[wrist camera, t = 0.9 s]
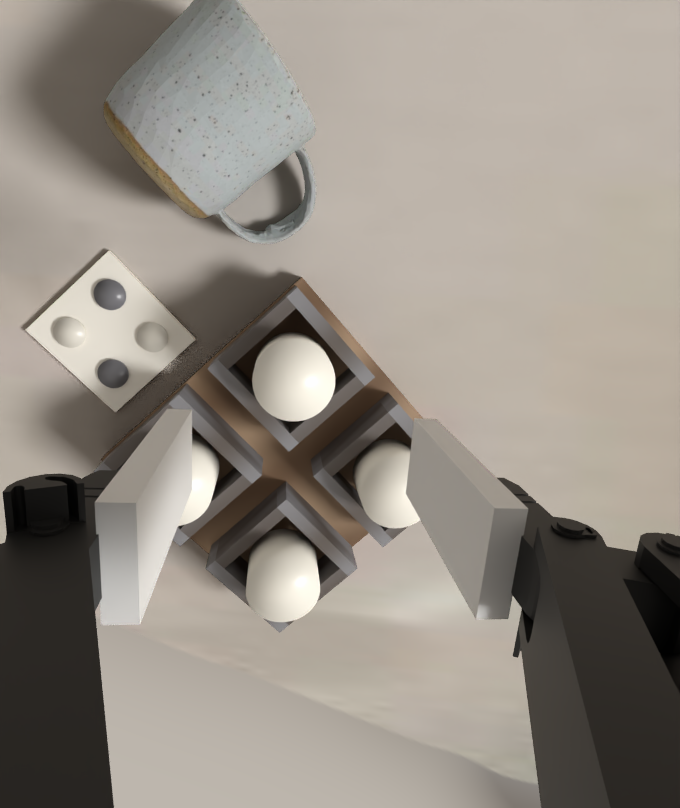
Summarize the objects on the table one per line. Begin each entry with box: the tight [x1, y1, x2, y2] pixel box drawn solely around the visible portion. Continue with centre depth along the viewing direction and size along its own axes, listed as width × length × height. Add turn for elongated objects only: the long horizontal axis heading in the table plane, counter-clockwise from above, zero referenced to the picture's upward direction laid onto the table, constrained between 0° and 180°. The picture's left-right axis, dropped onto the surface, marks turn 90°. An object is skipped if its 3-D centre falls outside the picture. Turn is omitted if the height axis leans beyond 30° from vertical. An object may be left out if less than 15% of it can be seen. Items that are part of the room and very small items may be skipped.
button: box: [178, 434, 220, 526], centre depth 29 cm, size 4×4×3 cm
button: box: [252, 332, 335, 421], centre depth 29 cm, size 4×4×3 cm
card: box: [26, 251, 196, 413], centre depth 31 cm, size 7×7×1 cm
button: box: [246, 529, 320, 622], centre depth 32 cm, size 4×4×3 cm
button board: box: [93, 277, 423, 632], centre depth 33 cm, size 16×17×4 cm
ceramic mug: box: [104, 0, 316, 244], centre depth 26 cm, size 11×8×8 cm
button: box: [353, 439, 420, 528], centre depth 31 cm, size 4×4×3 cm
